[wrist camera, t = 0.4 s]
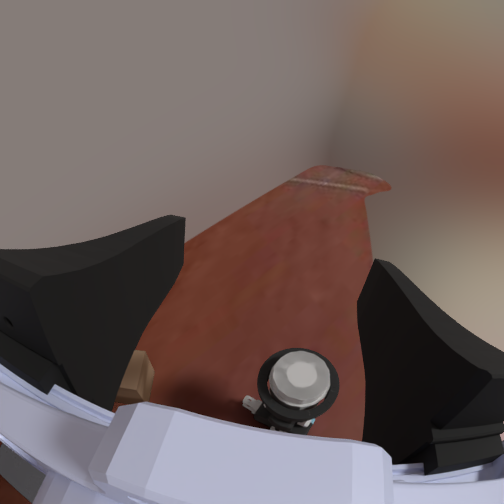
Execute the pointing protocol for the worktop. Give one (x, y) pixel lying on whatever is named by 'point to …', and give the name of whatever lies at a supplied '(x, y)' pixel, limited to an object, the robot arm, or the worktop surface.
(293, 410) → the push button
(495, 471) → the robot arm
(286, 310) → the worktop surface
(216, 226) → the worktop surface
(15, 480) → the stand
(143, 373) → the tan cube
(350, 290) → the worktop surface
